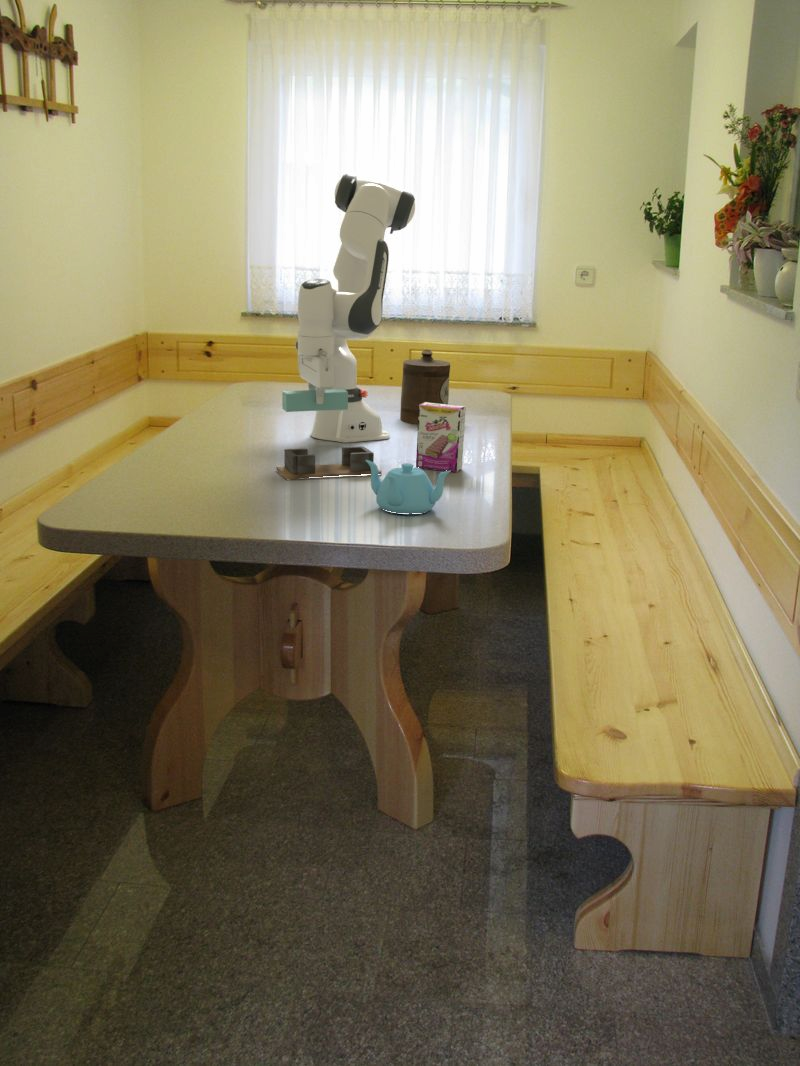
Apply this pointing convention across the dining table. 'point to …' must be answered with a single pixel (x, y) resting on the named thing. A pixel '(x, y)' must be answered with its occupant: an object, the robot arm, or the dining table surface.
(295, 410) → the slat
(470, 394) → the dining table surface
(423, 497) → the teapot
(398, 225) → the robot arm
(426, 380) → the wooden container
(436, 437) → the candy bar box
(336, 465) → the sharpening stone holder
